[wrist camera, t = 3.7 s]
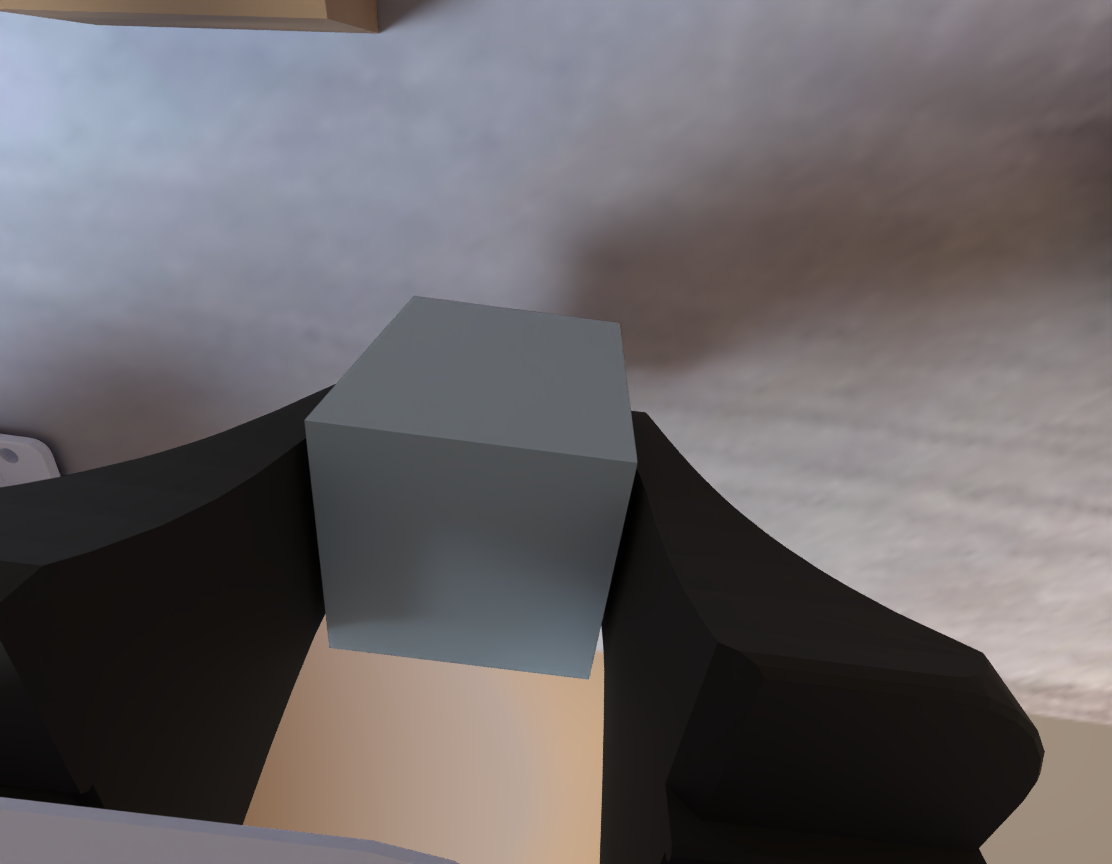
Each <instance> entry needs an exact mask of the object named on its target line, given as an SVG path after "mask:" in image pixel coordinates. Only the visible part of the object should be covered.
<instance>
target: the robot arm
mask: <svg viewBox="0 0 1112 864" xmlns="http://www.w3.org/2000/svg"><path fill="white" fill-rule="evenodd" d="M335 385H336V384H335ZM335 385H332V386H330V387H328V388H325V389H323V390H321V391H319V392H317V393H314V394H312V395H310V396H308V397H306V398H303V399H301V400H299V401H297V402H294V403H292V404H290V405H288V406H285V407H283V408H281V409H279V410H276V411H274V412H272V413H269V414H267V415H264V416H262V417H259V418H257V419H254V420H252V421H249V422H247V423H244V424H242V425H239V426H237V427H234V428H232V429H229V430H227V431H224V432H222V433H219V434H216V435H213V436H211V437H208V438H205V439H202V440H199V441H196V442H193V443H190V444H187V445H183V446H180V447H177V448H173V449H170V450H167V451H164V452H160V453H157V454H153V455H150V456H146V457H143V458H139V459H134V460H130V461H126V462H122V463H117V464H113V465H109V466H105V467H101V468H96V469H92V470H88V471H84V472H79V473H75V474H71V475H66V476H60V473H59V471H58V468H57V465H56V463H55V460H54V457H53V455H52V452H51V451H50V449H49V448H48V447H47V446H46V445H45V444H44V443H43V442H41V441H39V440H37V439H33V438H29V437H21V436H13V435H5V434H0V864H458V863H457V862H455V861H453V860H449V859H445V858H441V857H437V856H433V855H429V854H425V853H421V852H417V851H413V850H409V849H405V848H401V847H397V846H393V845H389V844H385V843H381V842H377V841H373V840H364V839H355V838H348V837H338V836H330V835H321V834H313V833H305V832H296V831H288V830H279V829H270V828H262V827H253V826H245V825H243V822H244V819H245V816H246V813H247V811H248V808H249V805H250V802H251V800H252V797H253V794H254V791H255V789H256V786H257V783H258V780H259V777H260V775H261V772H262V769H263V766H264V764H265V761H266V758H267V755H268V752H269V749H270V747H271V744H272V741H273V739H274V736H275V734H276V731H277V728H278V726H279V723H280V721H281V718H282V716H283V713H284V710H285V708H286V705H287V703H288V700H289V697H290V695H291V692H292V690H293V687H294V685H295V682H296V680H297V677H298V675H299V672H300V670H301V668H302V665H303V663H304V660H305V658H306V655H307V653H308V650H309V648H310V645H311V643H312V641H313V638H314V636H315V634H316V632H317V630H318V628H319V626H320V623H321V621H322V619H323V617H324V615H325V613H326V612H325V603H324V594H323V585H322V576H321V567H320V558H319V549H318V540H317V531H316V521H315V512H314V503H313V494H312V485H311V476H310V467H309V458H308V449H307V440H306V431H305V422H304V420H305V419H306V418H307V417H308V416H309V414H310V413H311V412H312V411H313V410H314V409H315V408H316V406H317V405H318V404H319V403H320V402H321V401H322V400H323V399H324V397H325V396H326V395H327V394H328V393H329V392H330V391H331V389H332V388H333V387H334V386H335ZM631 416H632V424H633V432H634V439H635V447H636V455H637V467H636V472H635V476H634V481H633V485H632V490H631V494H630V499H629V503H628V507H627V512H626V516H625V521H624V525H623V530H622V534H621V539H620V543H619V548H618V552H617V557H616V561H615V565H614V570H613V574H612V579H611V583H610V588H609V592H608V597H607V601H606V606H605V610H604V615H603V619H602V623H601V626H602V637H603V649H604V671H605V672H604V736H603V738H604V739H603V780H602V812H601V842H600V864H987V863H986V861H985V860H984V858H983V856H982V854H981V852H980V850H979V848H980V846H981V845H982V844H983V843H984V842H985V841H986V840H987V839H988V838H989V837H990V836H991V835H992V834H993V832H995V830H996V829H997V828H998V827H999V826H1000V825H1001V824H1002V823H1003V822H1004V821H1005V820H1006V819H1007V818H1008V817H1009V816H1010V815H1011V814H1012V813H1013V811H1014V810H1015V809H1016V808H1017V807H1018V806H1019V805H1020V804H1021V803H1022V802H1023V801H1024V799H1025V798H1026V797H1027V795H1028V794H1029V792H1030V791H1031V789H1032V788H1033V786H1034V785H1035V783H1036V782H1037V780H1038V778H1039V775H1040V772H1041V767H1042V762H1043V757H1044V752H1045V751H1044V748H1043V746H1042V743H1041V739H1040V736H1039V733H1038V730H1037V729H1036V727H1035V726H1034V724H1033V723H1032V722H1031V720H1030V719H1029V717H1028V716H1027V714H1026V713H1025V712H1024V710H1023V709H1022V707H1021V706H1020V704H1019V703H1018V702H1017V700H1016V699H1015V697H1014V696H1013V694H1012V693H1011V692H1010V690H1009V689H1008V687H1007V686H1006V685H1005V683H1004V682H1003V680H1002V679H1001V677H1000V676H999V675H998V673H997V672H996V670H995V669H994V667H993V666H992V665H991V663H990V662H989V660H988V659H987V658H986V656H985V655H984V654H983V653H982V652H980V651H978V650H976V649H974V648H971V647H969V646H967V645H965V644H963V643H961V642H958V641H956V640H954V639H952V638H950V637H948V636H946V635H943V634H941V633H939V632H937V631H935V630H933V629H931V628H928V627H926V626H924V625H922V624H920V623H918V622H915V621H913V620H911V619H909V618H907V617H905V616H903V615H900V614H898V613H896V612H894V611H892V610H891V609H889V608H887V607H885V606H883V605H881V604H879V603H878V602H876V601H874V600H872V599H870V598H868V597H866V596H865V595H863V594H861V593H859V592H857V591H855V590H854V589H852V588H850V587H848V586H846V585H845V584H843V583H841V582H840V581H838V580H836V579H835V578H833V577H831V576H830V575H828V574H826V573H824V572H823V571H821V570H820V569H818V568H816V567H815V566H813V565H812V564H810V563H809V562H807V561H806V560H804V559H803V558H801V557H800V556H798V555H797V554H795V553H794V552H792V551H791V550H789V549H788V548H786V547H785V546H783V545H782V544H780V543H779V542H778V541H776V540H775V539H774V538H772V537H771V536H769V535H768V534H767V533H765V532H764V531H763V530H762V529H760V528H759V527H758V526H757V525H755V524H754V523H753V522H752V521H750V520H749V519H748V518H747V517H745V516H744V515H743V514H742V513H740V512H739V511H738V510H737V509H736V508H734V507H733V506H732V505H731V504H730V503H729V502H728V501H727V500H725V499H724V498H723V497H722V496H721V495H720V494H719V493H718V492H717V491H716V490H715V489H714V488H713V487H712V486H711V485H710V484H709V483H708V482H707V481H706V480H705V479H704V478H703V477H702V476H701V475H700V474H699V473H698V472H697V471H696V470H695V469H694V468H693V467H692V466H691V465H690V464H689V463H688V461H687V460H686V459H685V458H684V457H683V456H682V455H681V454H680V452H679V451H678V450H677V449H676V448H675V447H674V446H673V444H672V443H671V442H670V441H669V440H668V438H667V437H666V436H665V435H664V434H663V432H662V431H661V430H660V429H659V427H658V426H657V425H656V424H655V423H654V421H653V420H652V419H651V418H650V417H649V416H648V414H647V413H645V412H638V411H631Z"/></svg>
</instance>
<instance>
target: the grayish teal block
mask: <svg viewBox="0 0 1112 864" xmlns="http://www.w3.org/2000/svg"><path fill="white" fill-rule="evenodd" d="M304 422H305V431H306V440H307V449H308V458H309V467H310V476H311V485H312V494H313V503H314V512H315V521H316V531H317V540H318V549H319V558H320V567H321V576H322V585H323V594H324V603H325V612H326V621H327V630H328V639H329V647H330V648H336V649H344V650H352V651H361V652H368V653H376V654H384V655H393V656H401V657H409V658H418V659H426V660H434V661H442V662H451V663H459V664H467V665H474V666H483V667H491V668H499V669H508V670H516V671H524V672H532V673H540V674H548V675H556V676H564V677H573V678H582V679H589V676H590V672H591V668H592V664H593V659H594V655H595V650H596V646H597V641H598V637H599V632H600V628H601V623H602V619H603V615H604V610H605V606H606V601H607V597H608V592H609V588H610V583H611V579H612V574H613V570H614V565H615V561H616V557H617V552H618V548H619V543H620V539H621V534H622V530H623V525H624V521H625V516H626V512H627V507H628V503H629V499H630V494H631V490H632V485H633V481H634V476H635V472H636V467H637V455H636V447H635V439H634V432H633V424H632V416H631V408H630V400H629V392H628V385H627V377H626V369H625V361H624V353H623V345H622V338H621V330H620V323H617V322H609V321H601V320H594V319H586V318H579V317H571V316H563V315H556V314H548V313H541V312H533V311H525V310H518V309H510V308H503V307H495V306H487V305H480V304H472V303H464V302H457V301H449V300H442V299H434V298H426V297H419V296H413V297H412V299H411V300H410V301H409V302H408V303H407V304H406V305H405V307H404V308H403V309H402V310H401V311H400V312H399V313H398V314H397V316H396V317H395V318H394V319H393V320H392V321H391V322H390V324H389V325H388V326H387V327H386V328H385V329H384V330H383V332H382V333H381V334H380V335H379V336H378V337H377V338H376V339H375V341H374V342H373V343H372V344H371V345H370V346H369V347H368V349H367V350H366V351H365V352H364V353H363V354H362V355H361V356H360V358H359V359H358V360H357V361H356V362H355V363H354V364H353V366H352V367H351V368H350V369H349V370H348V371H347V372H346V374H345V375H344V376H343V377H342V378H341V379H340V380H339V381H338V383H337V384H336V385H335V386H334V387H333V388H332V389H331V391H330V392H329V393H328V394H327V395H326V396H325V397H324V399H323V400H322V401H321V402H320V403H319V404H318V405H317V406H316V408H315V409H314V410H313V411H312V412H311V413H310V414H309V416H308V417H307V418H306V419H305V420H304Z"/></svg>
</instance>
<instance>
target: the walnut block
mask: <svg viewBox="0 0 1112 864" xmlns="http://www.w3.org/2000/svg"><path fill="white" fill-rule="evenodd" d="M0 11H2V12H9V13H17V14H24V15H31V16H38V17H45V18H52V19H59V20H66V21H73V22H80V23H87V24H94V25H116V26H149V27H182V28H215V29H248V30H281V31H315V32H348V33H379V29H378V19H377V9H376V0H0Z"/></svg>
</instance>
